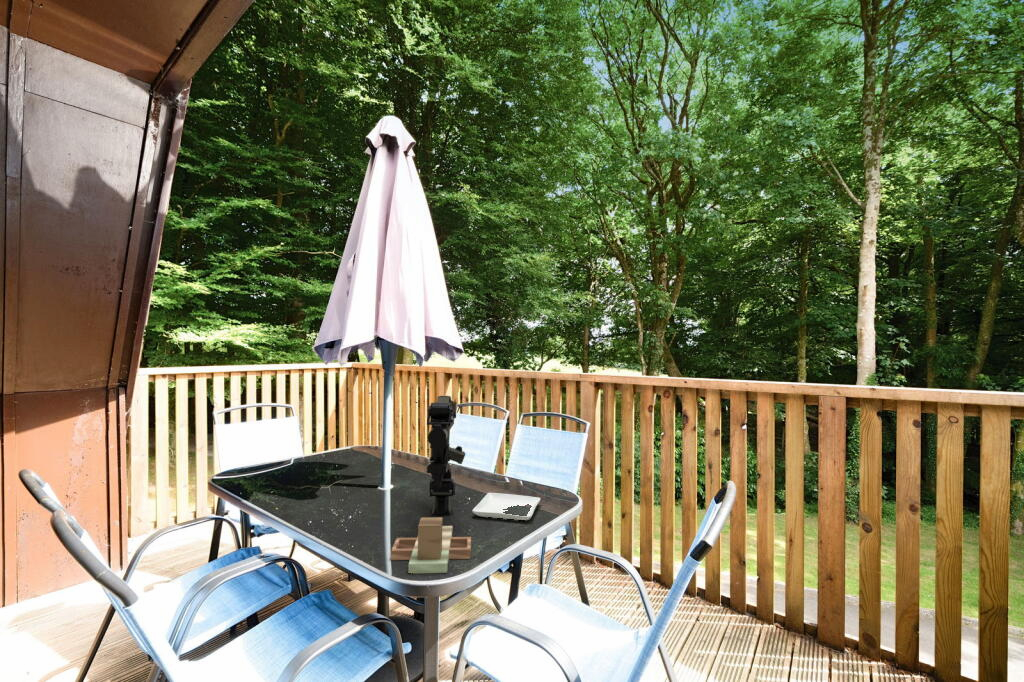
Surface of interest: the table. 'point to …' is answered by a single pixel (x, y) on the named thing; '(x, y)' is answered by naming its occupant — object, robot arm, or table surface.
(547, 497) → the table surface
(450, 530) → the track
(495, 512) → the salad plate
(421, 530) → the walnut block
